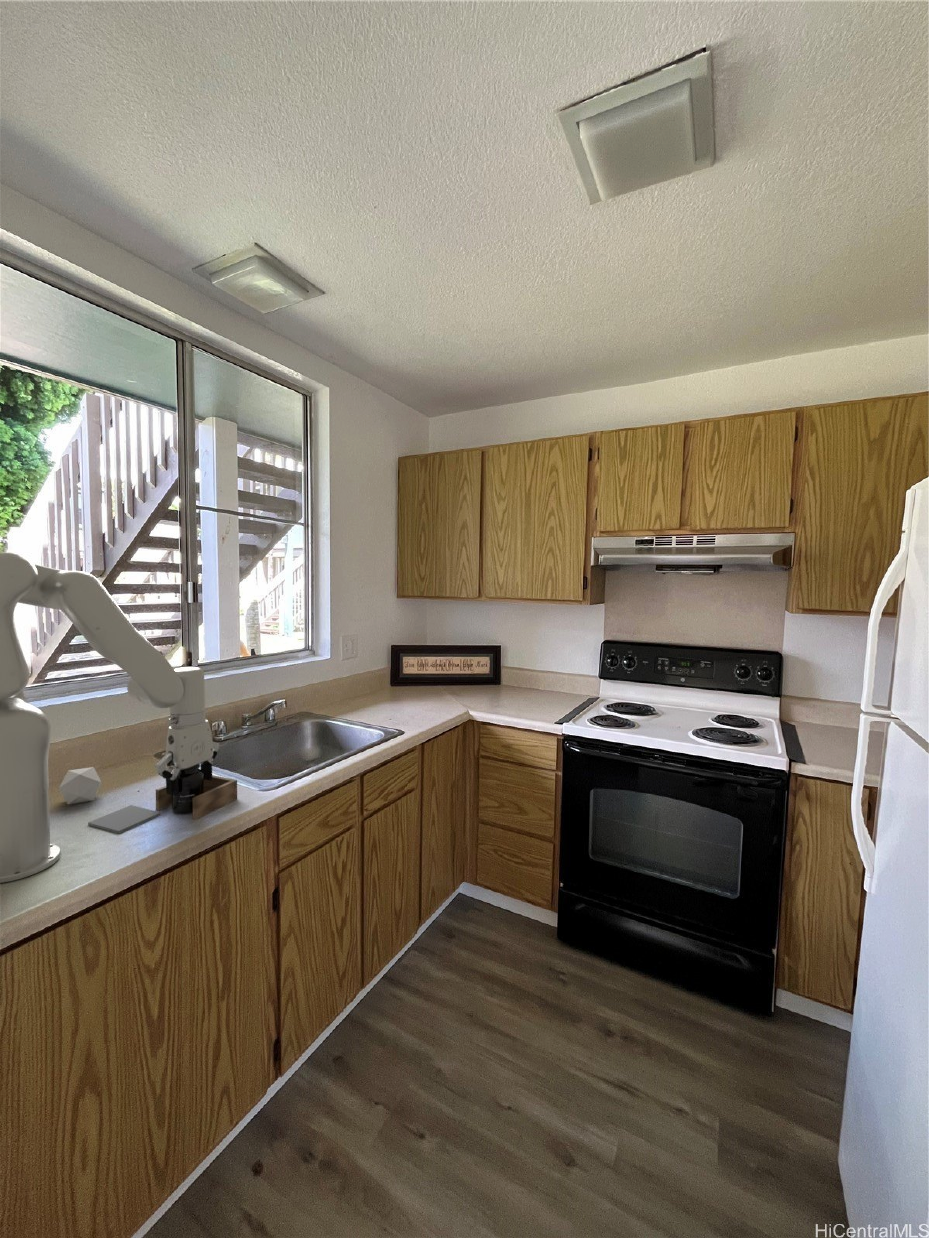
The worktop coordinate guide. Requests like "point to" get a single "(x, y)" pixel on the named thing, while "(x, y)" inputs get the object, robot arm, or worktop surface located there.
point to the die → (80, 785)
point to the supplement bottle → (188, 789)
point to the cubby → (204, 796)
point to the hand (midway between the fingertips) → (190, 786)
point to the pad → (124, 819)
